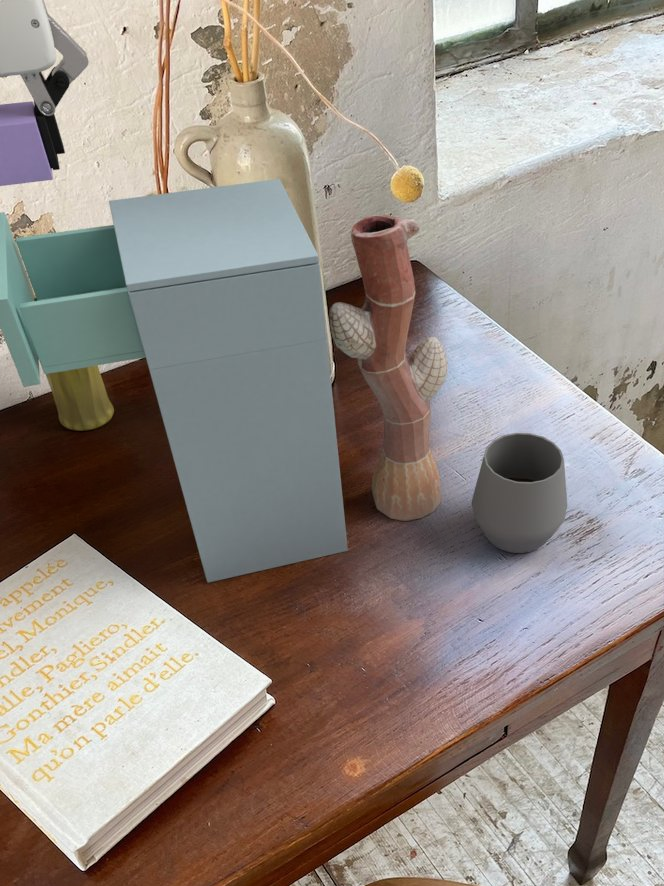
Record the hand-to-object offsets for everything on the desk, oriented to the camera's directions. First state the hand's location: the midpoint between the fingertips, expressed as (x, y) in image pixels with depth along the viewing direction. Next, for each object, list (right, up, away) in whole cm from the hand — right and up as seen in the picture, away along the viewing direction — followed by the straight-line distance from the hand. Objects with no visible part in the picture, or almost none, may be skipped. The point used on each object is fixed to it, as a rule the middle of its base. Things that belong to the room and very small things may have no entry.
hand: (20, 164), depth 72 cm
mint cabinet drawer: (+5, -13, 0) cm, 14 cm away
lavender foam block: (0, 0, 0) cm, 1 cm away
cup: (+41, -28, +20) cm, 54 cm away
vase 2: (+29, -24, +23) cm, 45 cm away
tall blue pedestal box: (+15, -27, +21) cm, 37 cm away
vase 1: (-8, -14, +32) cm, 36 cm away
